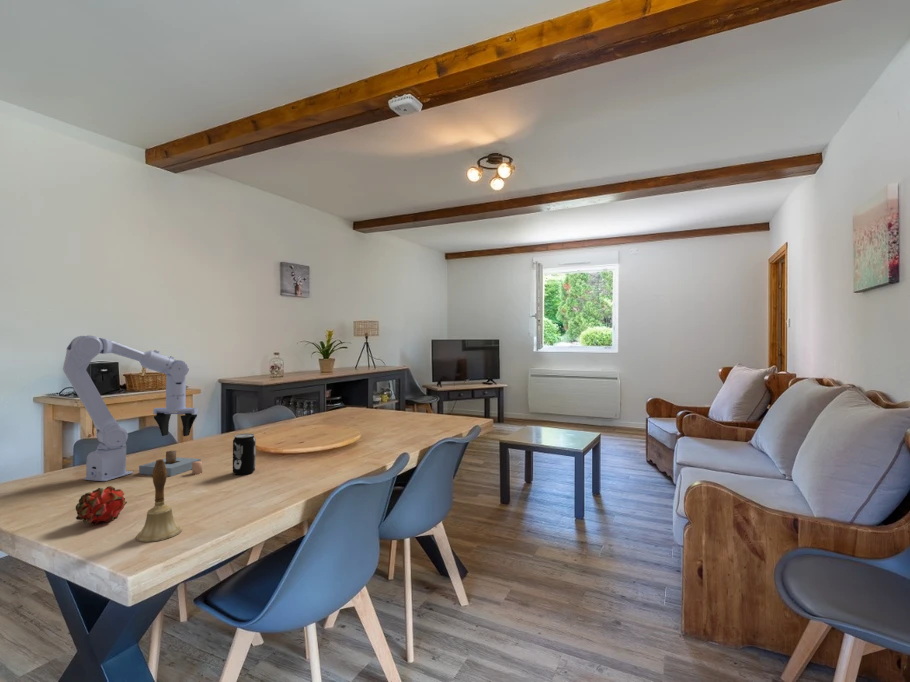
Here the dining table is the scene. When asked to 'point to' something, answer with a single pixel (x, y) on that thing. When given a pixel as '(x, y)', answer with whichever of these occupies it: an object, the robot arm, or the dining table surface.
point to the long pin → (170, 457)
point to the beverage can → (244, 454)
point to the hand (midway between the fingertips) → (175, 435)
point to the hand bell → (159, 511)
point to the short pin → (197, 467)
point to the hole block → (170, 466)
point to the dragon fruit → (100, 505)
